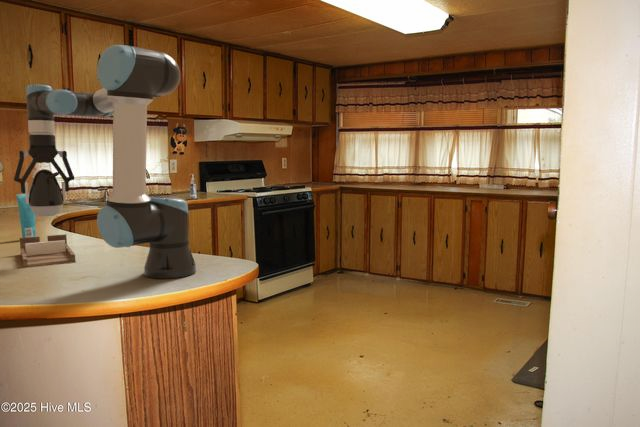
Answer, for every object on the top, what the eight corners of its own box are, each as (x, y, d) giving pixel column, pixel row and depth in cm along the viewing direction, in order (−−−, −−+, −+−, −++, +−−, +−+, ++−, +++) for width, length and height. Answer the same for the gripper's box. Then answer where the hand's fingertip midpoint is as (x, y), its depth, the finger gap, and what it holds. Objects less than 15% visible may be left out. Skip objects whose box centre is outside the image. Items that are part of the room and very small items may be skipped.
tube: (33, 237, 222) (30, 192, 220) (41, 238, 220) (38, 193, 218) (16, 240, 216) (13, 194, 213) (24, 241, 214) (20, 194, 211)
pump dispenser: (50, 217, 167) (47, 170, 165) (22, 216, 169) (18, 169, 167) (71, 213, 177) (69, 168, 175) (44, 212, 179) (41, 168, 177)
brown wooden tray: (75, 262, 176) (74, 244, 175) (24, 267, 168) (22, 248, 167) (66, 250, 196) (66, 234, 195) (20, 254, 188) (19, 237, 187)
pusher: (65, 251, 187) (65, 240, 187) (26, 255, 181) (25, 244, 180) (63, 248, 194) (62, 237, 194) (24, 251, 188) (24, 240, 187)
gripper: (78, 134, 179) (82, 199, 182) (1, 133, 167) (5, 203, 170) (81, 134, 172) (85, 201, 175) (1, 133, 161) (6, 205, 163)
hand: (46, 202), depth 173 cm, fingers closed on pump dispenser, 10 cm apart
